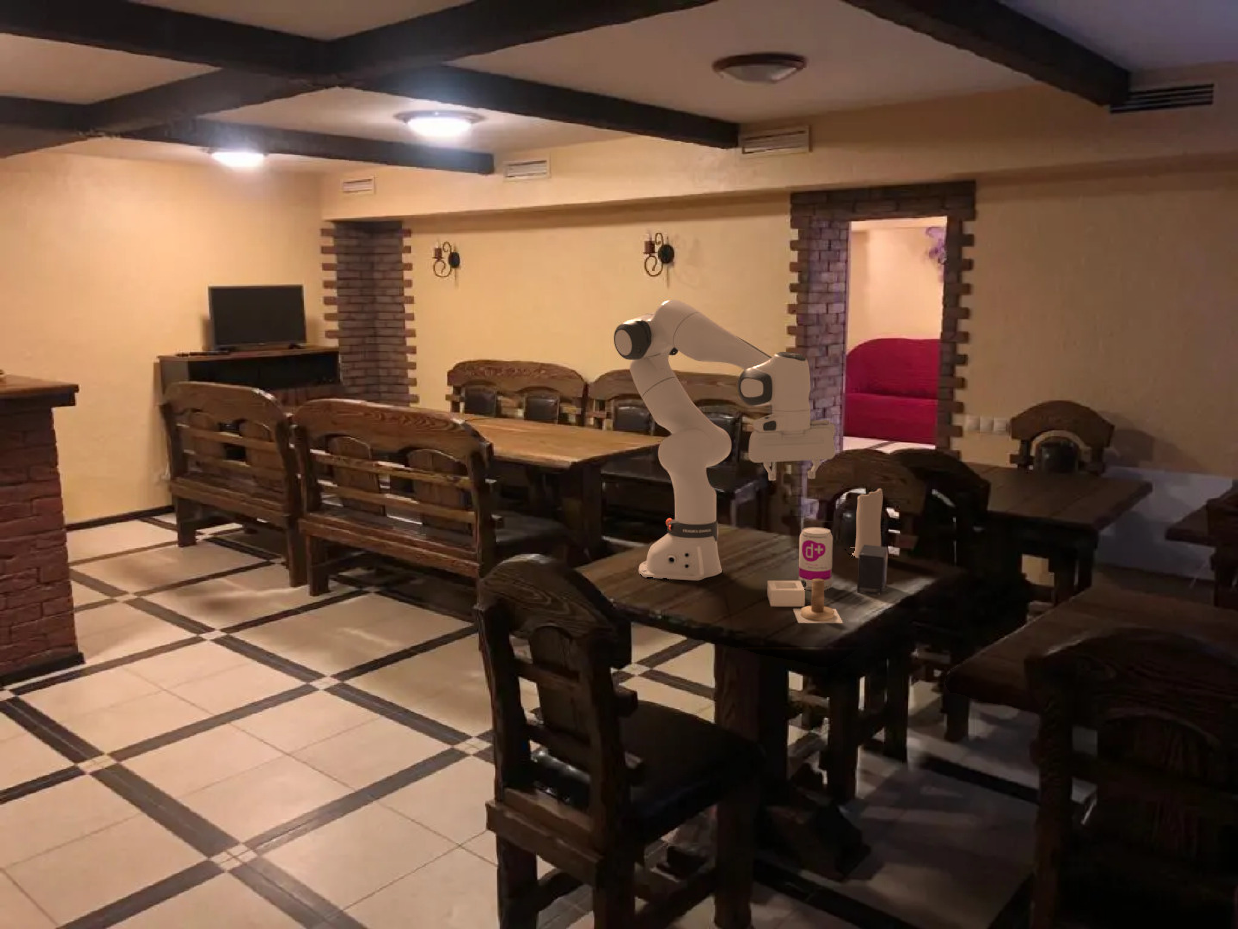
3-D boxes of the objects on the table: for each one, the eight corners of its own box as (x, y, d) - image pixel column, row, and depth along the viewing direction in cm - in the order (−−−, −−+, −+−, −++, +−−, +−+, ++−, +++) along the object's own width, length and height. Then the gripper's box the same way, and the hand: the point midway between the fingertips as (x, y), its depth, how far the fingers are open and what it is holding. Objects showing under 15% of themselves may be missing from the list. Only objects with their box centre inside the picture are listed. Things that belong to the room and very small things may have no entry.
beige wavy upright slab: (858, 547, 292) (860, 480, 289) (885, 558, 279) (888, 489, 276) (837, 549, 290) (839, 482, 286) (863, 561, 277) (865, 491, 273)
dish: (770, 608, 237) (771, 590, 236) (767, 598, 245) (767, 580, 244) (804, 608, 236) (804, 590, 236) (800, 598, 244) (800, 580, 244)
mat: (798, 625, 225) (798, 622, 225) (792, 611, 235) (792, 608, 234) (842, 625, 224) (843, 622, 224) (835, 611, 234) (835, 608, 234)
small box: (883, 597, 244) (884, 556, 242) (856, 595, 247) (857, 554, 245) (887, 585, 254) (888, 545, 252) (861, 583, 256) (862, 544, 254)
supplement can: (825, 594, 247) (827, 535, 245) (794, 589, 251) (795, 532, 249) (835, 585, 254) (837, 528, 252) (804, 581, 258) (805, 525, 256)
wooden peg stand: (803, 621, 226) (803, 585, 224) (798, 610, 233) (799, 575, 232) (836, 621, 225) (837, 585, 224) (831, 610, 233) (832, 575, 231)
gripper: (831, 418, 237) (831, 474, 239) (746, 421, 236) (747, 478, 238) (838, 421, 231) (838, 479, 233) (751, 424, 229) (752, 483, 232)
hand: (791, 479), depth 235 cm, fingers open, 8 cm apart
